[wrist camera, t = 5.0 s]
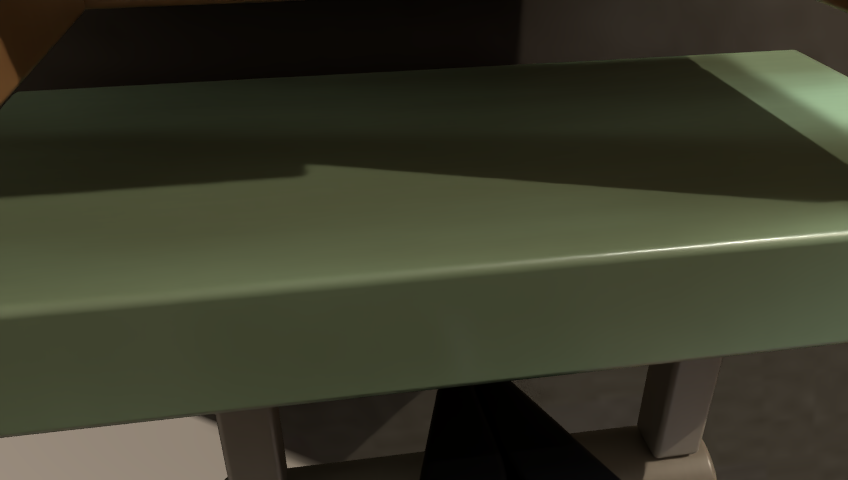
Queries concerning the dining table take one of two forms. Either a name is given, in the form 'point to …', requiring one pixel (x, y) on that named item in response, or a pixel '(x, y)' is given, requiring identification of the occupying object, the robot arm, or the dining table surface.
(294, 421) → the dining table surface
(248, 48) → the dining table surface
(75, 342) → the drawer
